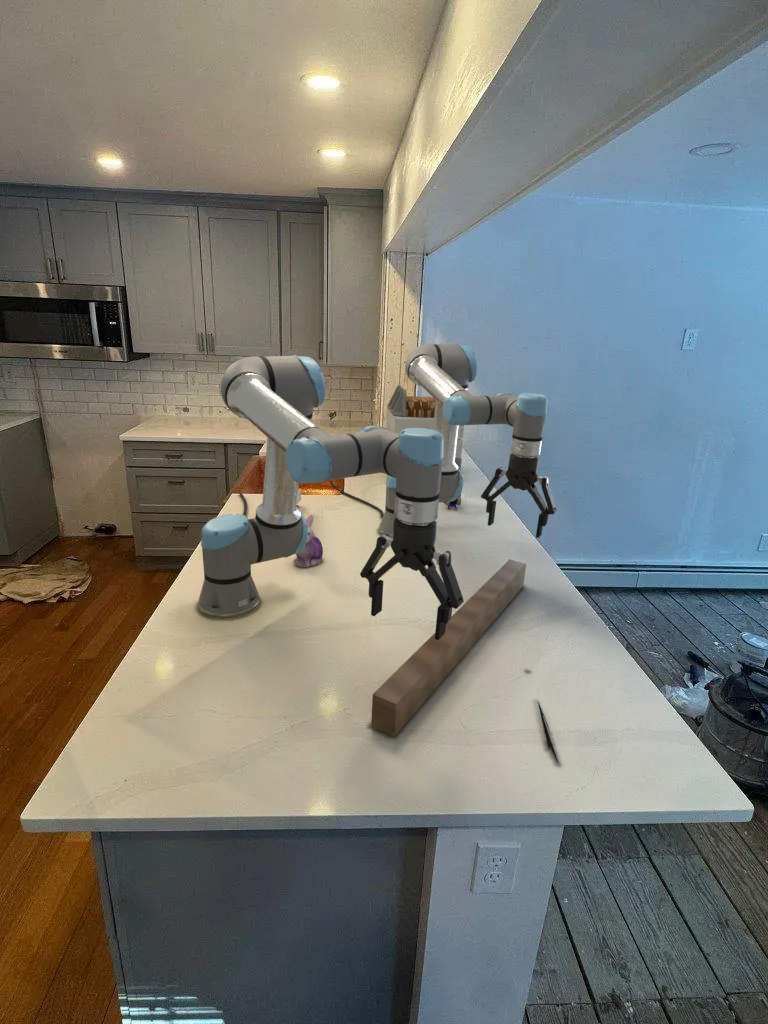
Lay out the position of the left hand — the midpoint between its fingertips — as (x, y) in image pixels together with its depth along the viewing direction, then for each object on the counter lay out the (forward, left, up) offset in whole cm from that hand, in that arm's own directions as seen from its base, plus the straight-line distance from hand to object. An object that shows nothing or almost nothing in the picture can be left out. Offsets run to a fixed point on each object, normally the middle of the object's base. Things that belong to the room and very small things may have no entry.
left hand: (407, 624), depth 106 cm
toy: (-113, +14, -19) cm, 115 cm away
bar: (-15, +26, -19) cm, 35 cm away
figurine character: (-99, +81, -19) cm, 130 cm away
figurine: (-71, +9, -19) cm, 75 cm away
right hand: (-30, +52, 0) cm, 60 cm away
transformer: (-145, +95, -19) cm, 174 cm away
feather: (+13, +25, -19) cm, 34 cm away
